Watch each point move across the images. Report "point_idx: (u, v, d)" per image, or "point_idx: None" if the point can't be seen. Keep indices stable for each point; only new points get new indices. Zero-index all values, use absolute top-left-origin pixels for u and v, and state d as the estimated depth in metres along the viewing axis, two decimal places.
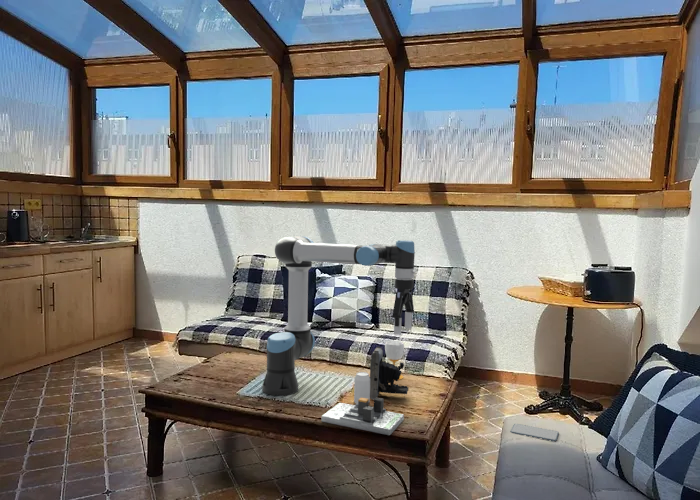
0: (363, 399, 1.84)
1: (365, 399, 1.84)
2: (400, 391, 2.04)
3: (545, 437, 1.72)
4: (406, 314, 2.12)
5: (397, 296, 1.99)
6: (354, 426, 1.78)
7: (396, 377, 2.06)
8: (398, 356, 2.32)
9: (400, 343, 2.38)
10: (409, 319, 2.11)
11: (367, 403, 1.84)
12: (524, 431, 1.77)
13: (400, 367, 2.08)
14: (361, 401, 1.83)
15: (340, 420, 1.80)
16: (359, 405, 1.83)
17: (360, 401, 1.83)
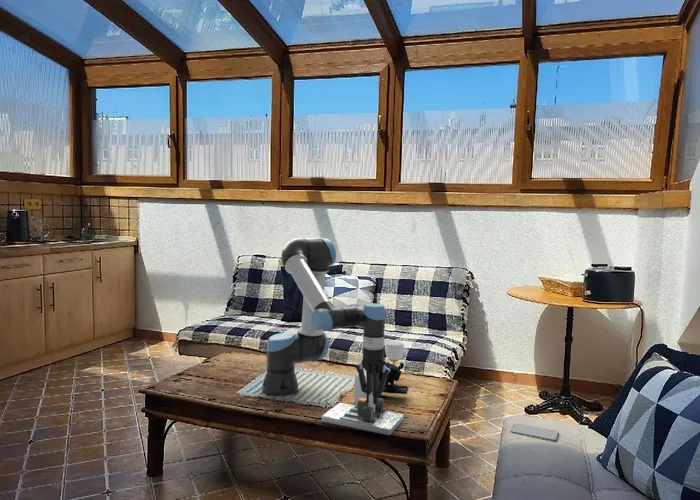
0: (362, 399, 1.84)
1: (364, 399, 1.84)
2: (400, 391, 2.04)
3: (545, 437, 1.72)
4: None
5: None
6: (354, 426, 1.78)
7: (396, 377, 2.06)
8: (398, 356, 2.32)
9: (400, 343, 2.38)
10: None
11: (366, 403, 1.84)
12: (524, 430, 1.77)
13: (400, 367, 2.08)
14: (360, 401, 1.83)
15: (340, 420, 1.80)
16: (358, 405, 1.83)
17: (359, 401, 1.83)
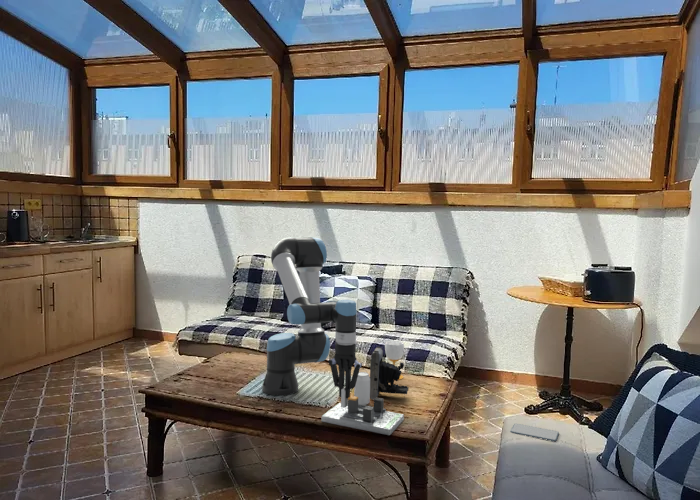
0: (353, 397, 1.85)
1: (355, 397, 1.85)
2: (400, 391, 2.04)
3: (545, 437, 1.72)
4: None
5: None
6: (354, 426, 1.78)
7: (396, 377, 2.06)
8: (398, 356, 2.32)
9: (400, 343, 2.38)
10: None
11: (357, 401, 1.85)
12: (524, 430, 1.77)
13: (400, 367, 2.08)
14: (351, 399, 1.85)
15: (340, 420, 1.80)
16: (349, 403, 1.85)
17: (350, 399, 1.85)
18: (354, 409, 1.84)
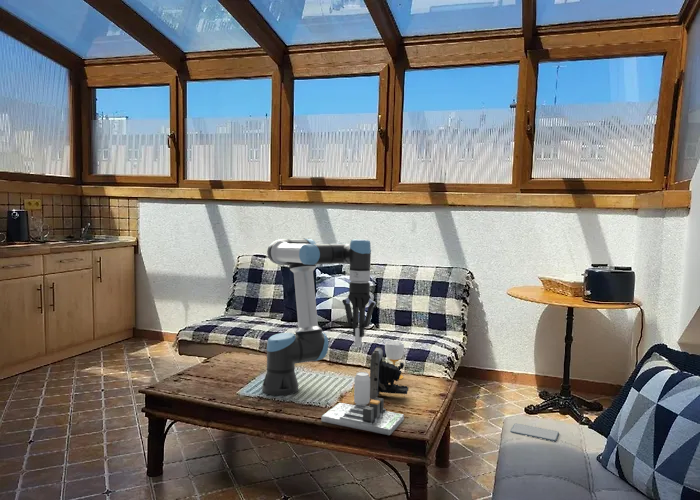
0: (374, 401, 1.82)
1: (377, 401, 1.82)
2: (400, 391, 2.04)
3: (545, 437, 1.72)
4: None
5: None
6: (354, 426, 1.78)
7: (396, 377, 2.06)
8: (398, 356, 2.32)
9: (400, 343, 2.38)
10: None
11: (379, 405, 1.82)
12: (524, 430, 1.77)
13: (400, 367, 2.08)
14: (373, 403, 1.81)
15: (340, 420, 1.80)
16: None
17: (371, 403, 1.81)
18: (376, 413, 1.81)
